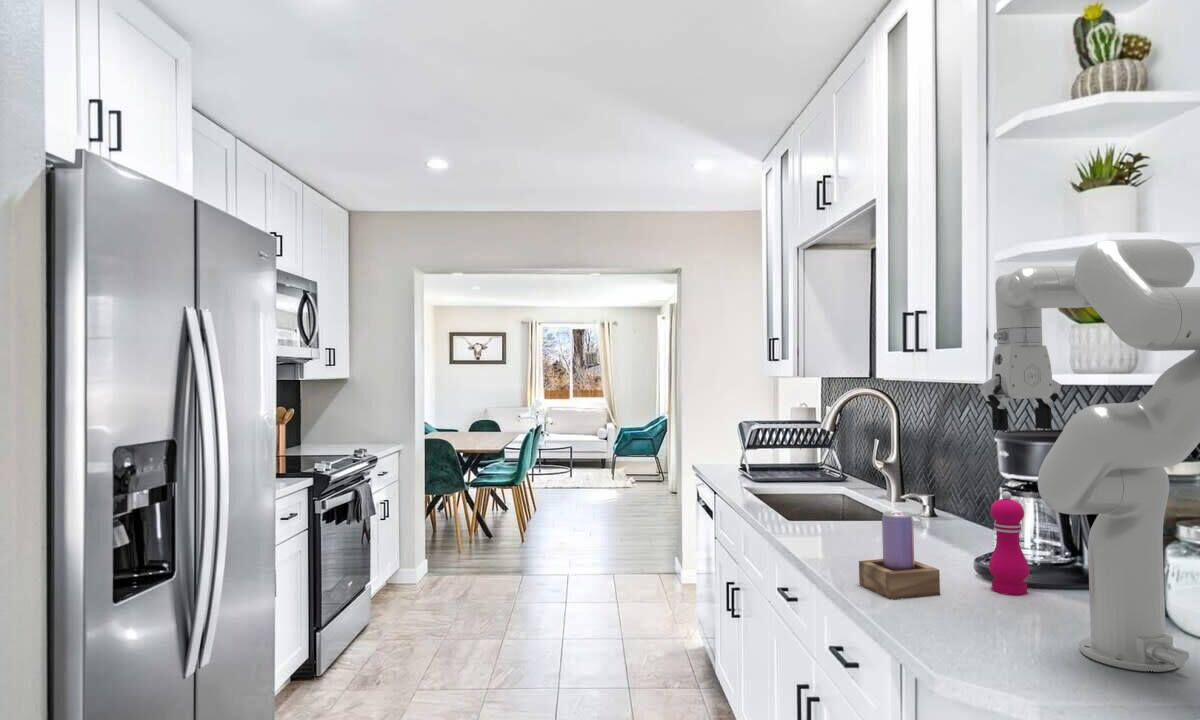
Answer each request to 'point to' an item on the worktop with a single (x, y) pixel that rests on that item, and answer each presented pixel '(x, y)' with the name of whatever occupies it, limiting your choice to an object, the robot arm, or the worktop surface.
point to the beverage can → (898, 540)
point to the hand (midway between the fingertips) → (1022, 429)
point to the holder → (899, 580)
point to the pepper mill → (1008, 548)
